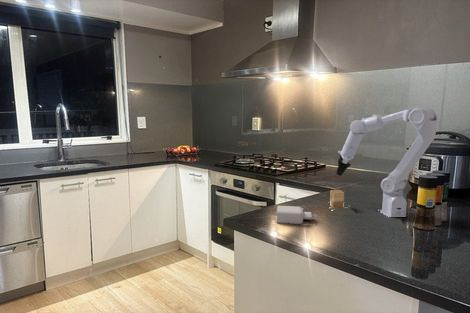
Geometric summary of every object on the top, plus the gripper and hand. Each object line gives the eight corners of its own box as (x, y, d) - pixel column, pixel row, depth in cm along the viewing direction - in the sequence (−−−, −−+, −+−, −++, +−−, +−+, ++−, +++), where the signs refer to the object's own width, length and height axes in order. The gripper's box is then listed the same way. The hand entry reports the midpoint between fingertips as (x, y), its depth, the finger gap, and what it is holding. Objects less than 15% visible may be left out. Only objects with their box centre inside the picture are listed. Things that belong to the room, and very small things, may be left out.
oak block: (343, 208, 138) (344, 192, 138) (332, 208, 138) (333, 192, 137) (339, 205, 143) (340, 190, 142) (329, 205, 143) (330, 190, 142)
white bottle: (317, 226, 119) (276, 223, 122) (315, 218, 128) (277, 216, 131) (318, 213, 119) (276, 211, 121) (316, 206, 128) (277, 204, 130)
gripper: (343, 138, 152) (332, 163, 157) (341, 147, 139) (329, 174, 145) (358, 143, 150) (347, 168, 156) (357, 153, 137) (344, 180, 143)
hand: (339, 171), depth 150 cm, fingers open, 7 cm apart
